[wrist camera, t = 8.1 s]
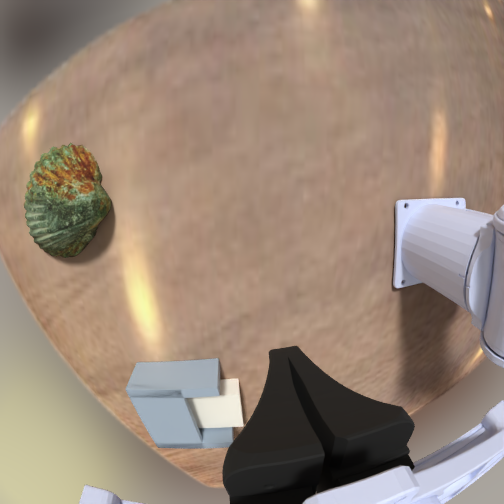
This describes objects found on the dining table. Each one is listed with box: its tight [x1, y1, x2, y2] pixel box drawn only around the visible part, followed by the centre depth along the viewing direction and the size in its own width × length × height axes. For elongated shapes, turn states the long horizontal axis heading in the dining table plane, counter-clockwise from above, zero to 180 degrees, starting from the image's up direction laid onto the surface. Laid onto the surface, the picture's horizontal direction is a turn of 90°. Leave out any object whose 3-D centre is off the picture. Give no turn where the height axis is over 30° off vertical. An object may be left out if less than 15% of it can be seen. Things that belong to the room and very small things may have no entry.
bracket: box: [126, 358, 234, 448], centre depth 22 cm, size 8×9×4 cm
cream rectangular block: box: [187, 379, 243, 428], centre depth 24 cm, size 8×5×3 cm, turn 93°
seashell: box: [24, 143, 111, 258], centre depth 17 cm, size 10×4×10 cm
